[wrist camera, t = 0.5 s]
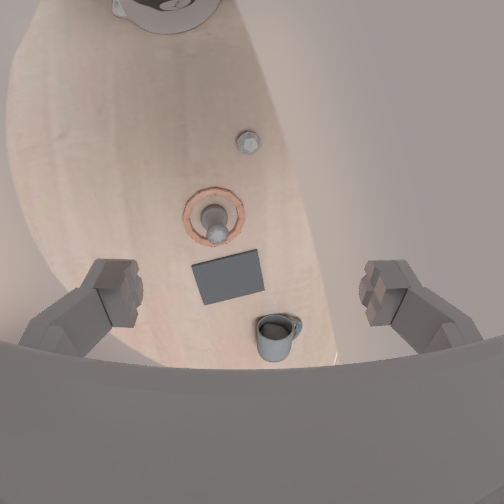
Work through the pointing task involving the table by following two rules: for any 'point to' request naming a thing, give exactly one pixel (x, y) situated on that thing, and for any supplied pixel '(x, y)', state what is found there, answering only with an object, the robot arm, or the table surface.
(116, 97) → the table surface
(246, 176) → the table surface
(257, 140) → the game die
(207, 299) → the charcoal mat
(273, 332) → the ceramic mug
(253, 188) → the table surface
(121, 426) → the robot arm
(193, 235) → the terracotta ring
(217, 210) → the rook chess piece
